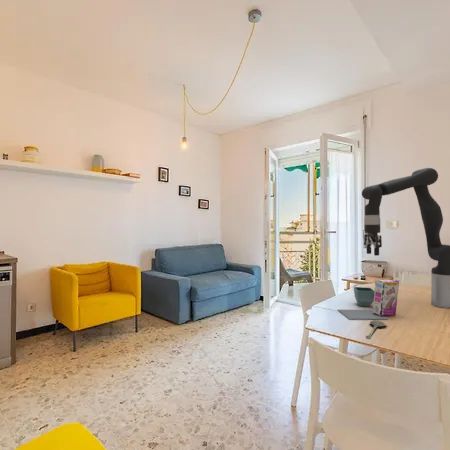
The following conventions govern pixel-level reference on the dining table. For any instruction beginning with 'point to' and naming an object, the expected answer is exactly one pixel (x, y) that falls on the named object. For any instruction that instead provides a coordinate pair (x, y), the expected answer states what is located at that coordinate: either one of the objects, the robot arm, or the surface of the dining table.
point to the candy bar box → (385, 297)
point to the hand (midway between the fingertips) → (372, 254)
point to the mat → (361, 315)
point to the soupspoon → (376, 324)
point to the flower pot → (364, 296)
